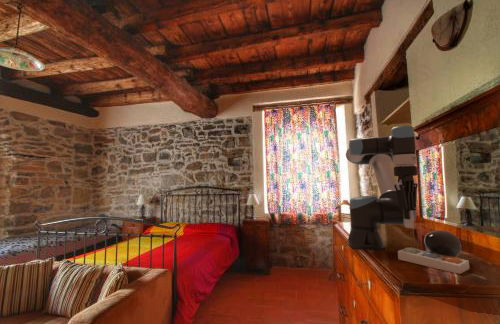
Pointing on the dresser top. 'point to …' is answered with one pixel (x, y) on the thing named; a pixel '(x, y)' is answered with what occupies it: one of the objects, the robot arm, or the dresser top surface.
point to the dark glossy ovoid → (443, 243)
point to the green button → (411, 250)
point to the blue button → (430, 254)
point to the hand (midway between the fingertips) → (409, 227)
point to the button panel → (433, 261)
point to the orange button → (452, 259)
